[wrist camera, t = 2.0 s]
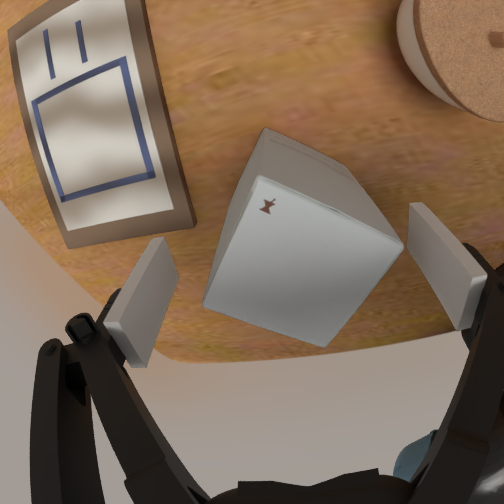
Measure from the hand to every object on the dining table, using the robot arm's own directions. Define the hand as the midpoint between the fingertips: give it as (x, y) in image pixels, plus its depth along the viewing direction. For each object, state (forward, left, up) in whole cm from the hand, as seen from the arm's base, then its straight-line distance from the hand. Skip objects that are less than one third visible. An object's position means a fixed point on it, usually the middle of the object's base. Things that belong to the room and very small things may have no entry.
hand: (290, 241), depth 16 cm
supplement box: (0, 0, -10) cm, 10 cm away
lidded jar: (+11, -14, -10) cm, 20 cm away
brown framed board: (+10, +15, -10) cm, 20 cm away
